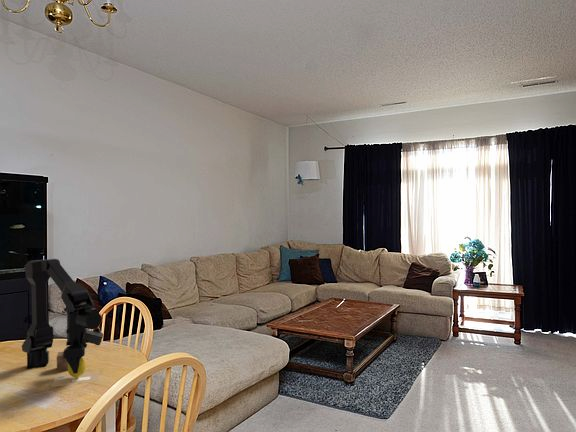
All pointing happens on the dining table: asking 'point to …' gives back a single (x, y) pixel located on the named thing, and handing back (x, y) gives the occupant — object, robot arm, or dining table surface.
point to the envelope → (76, 379)
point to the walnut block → (61, 362)
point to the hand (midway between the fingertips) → (76, 370)
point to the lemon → (80, 369)
